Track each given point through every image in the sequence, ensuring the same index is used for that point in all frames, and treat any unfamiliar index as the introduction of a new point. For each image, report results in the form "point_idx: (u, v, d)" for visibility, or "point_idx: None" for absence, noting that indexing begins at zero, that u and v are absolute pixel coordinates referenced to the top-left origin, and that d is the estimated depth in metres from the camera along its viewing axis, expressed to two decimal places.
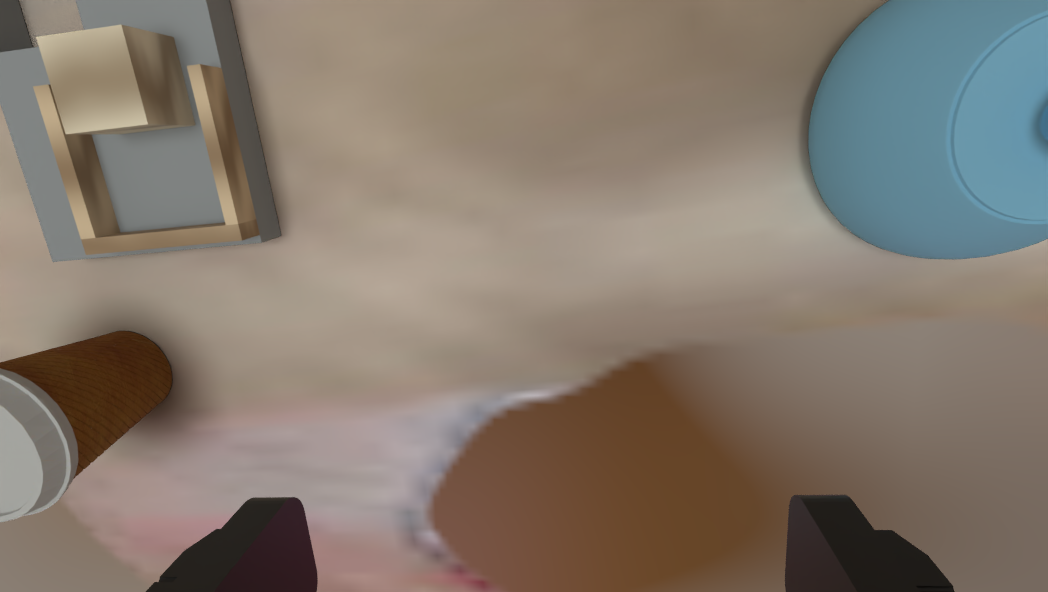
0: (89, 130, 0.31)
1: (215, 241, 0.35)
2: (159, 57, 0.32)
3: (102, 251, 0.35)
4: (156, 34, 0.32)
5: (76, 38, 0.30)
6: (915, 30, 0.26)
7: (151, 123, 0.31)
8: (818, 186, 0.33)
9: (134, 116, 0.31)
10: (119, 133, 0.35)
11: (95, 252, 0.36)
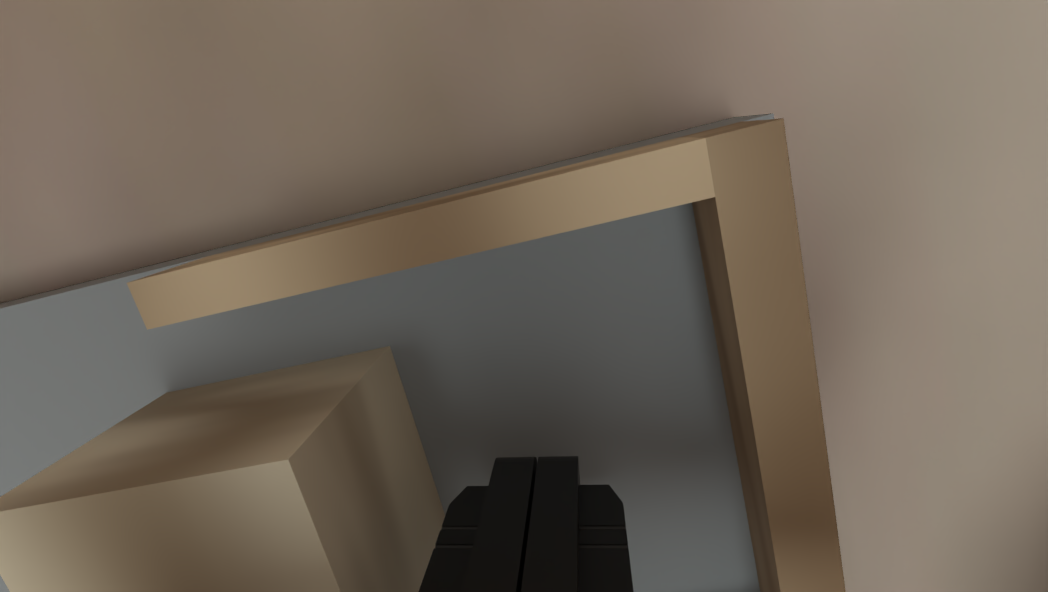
0: None
1: (793, 246, 0.08)
2: (164, 421, 0.10)
3: None
4: (115, 427, 0.10)
5: None
6: None
7: (296, 448, 0.08)
8: None
9: (271, 506, 0.07)
10: None
11: None
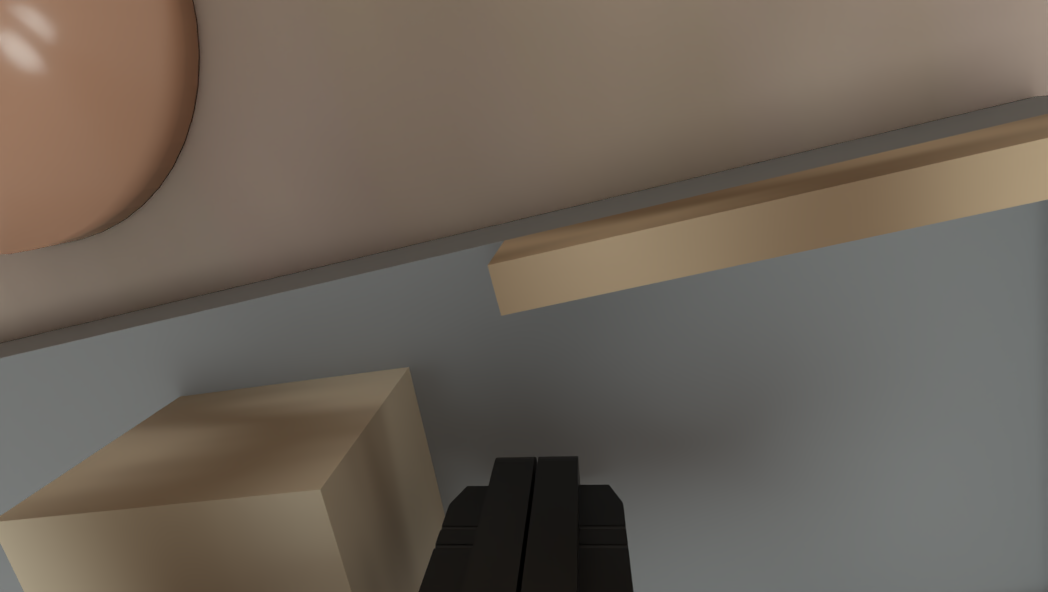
0: None
1: None
2: (184, 430, 0.10)
3: None
4: (132, 431, 0.10)
5: None
6: None
7: (326, 477, 0.08)
8: None
9: (298, 533, 0.08)
10: None
11: None
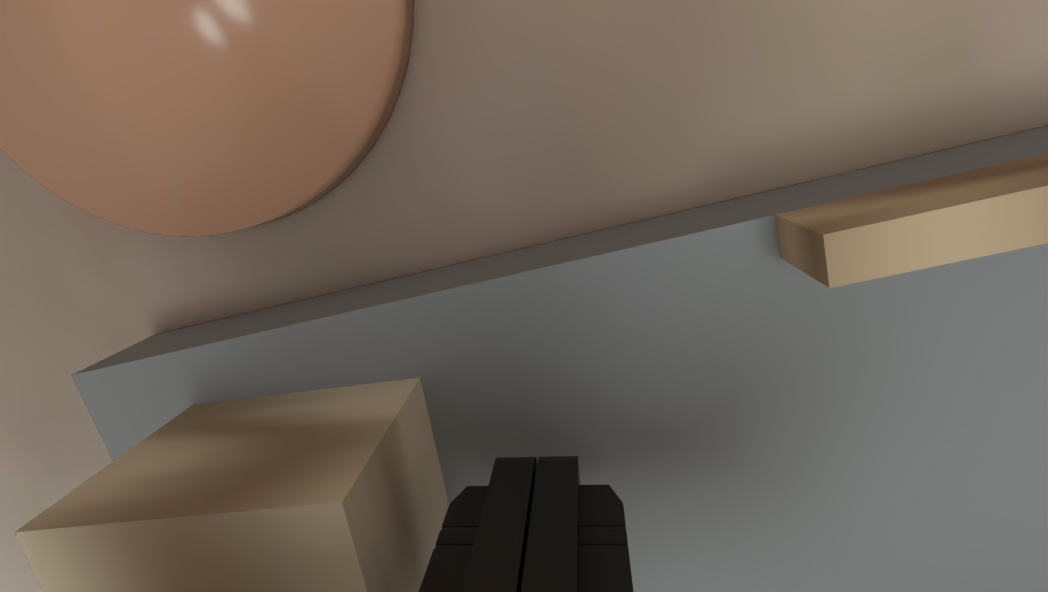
0: None
1: None
2: (199, 440, 0.10)
3: None
4: (147, 440, 0.11)
5: None
6: None
7: (346, 490, 0.08)
8: None
9: (318, 544, 0.08)
10: None
11: None
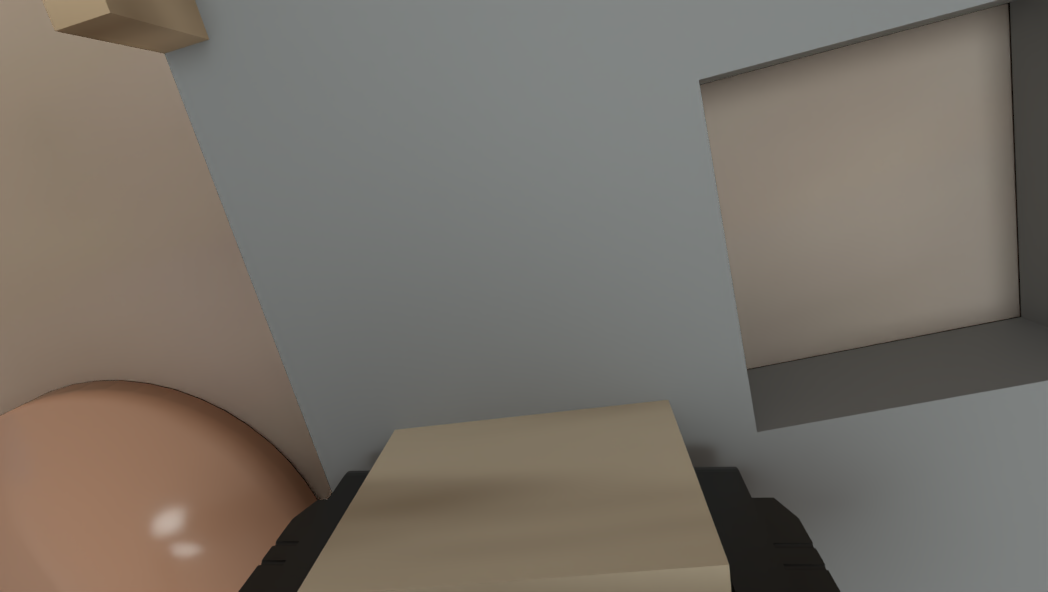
0: (592, 578, 0.06)
1: None
2: None
3: None
4: None
5: None
6: None
7: (307, 581, 0.07)
8: None
9: None
10: (649, 419, 0.09)
11: None
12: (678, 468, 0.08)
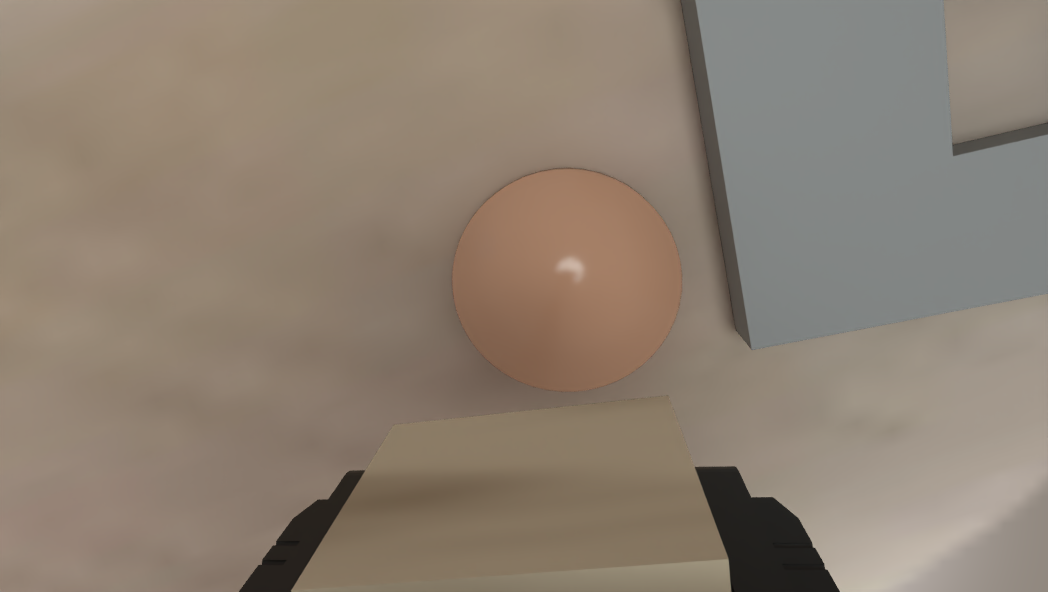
0: (590, 572, 0.06)
1: None
2: None
3: None
4: None
5: None
6: None
7: (305, 574, 0.07)
8: None
9: None
10: (649, 415, 0.09)
11: None
12: (678, 463, 0.08)
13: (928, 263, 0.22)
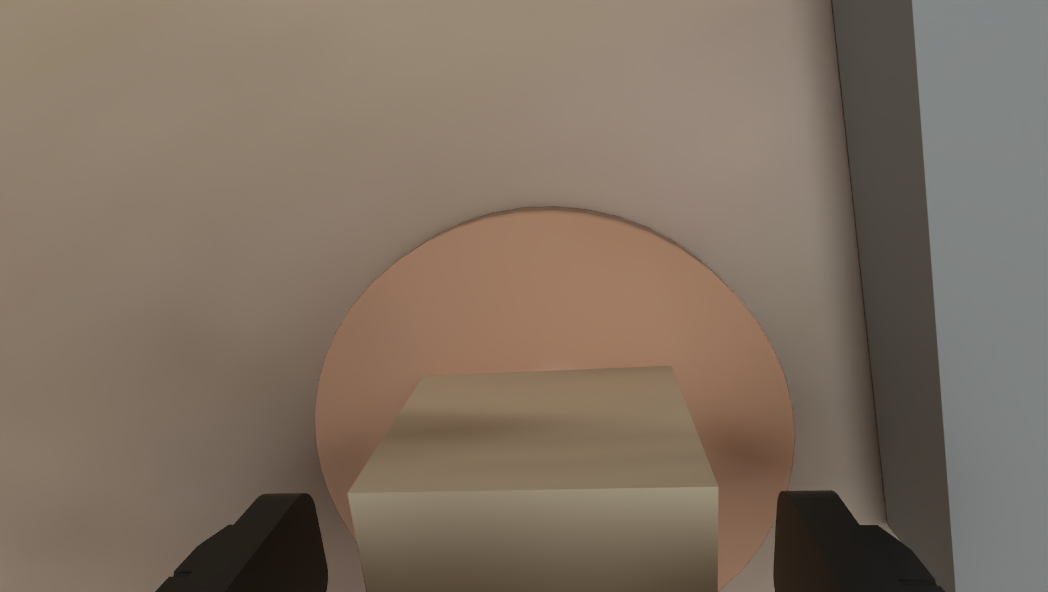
0: (602, 492, 0.08)
1: None
2: None
3: None
4: None
5: None
6: None
7: (357, 483, 0.08)
8: None
9: (396, 522, 0.08)
10: (653, 379, 0.11)
11: None
12: (678, 417, 0.09)
13: None
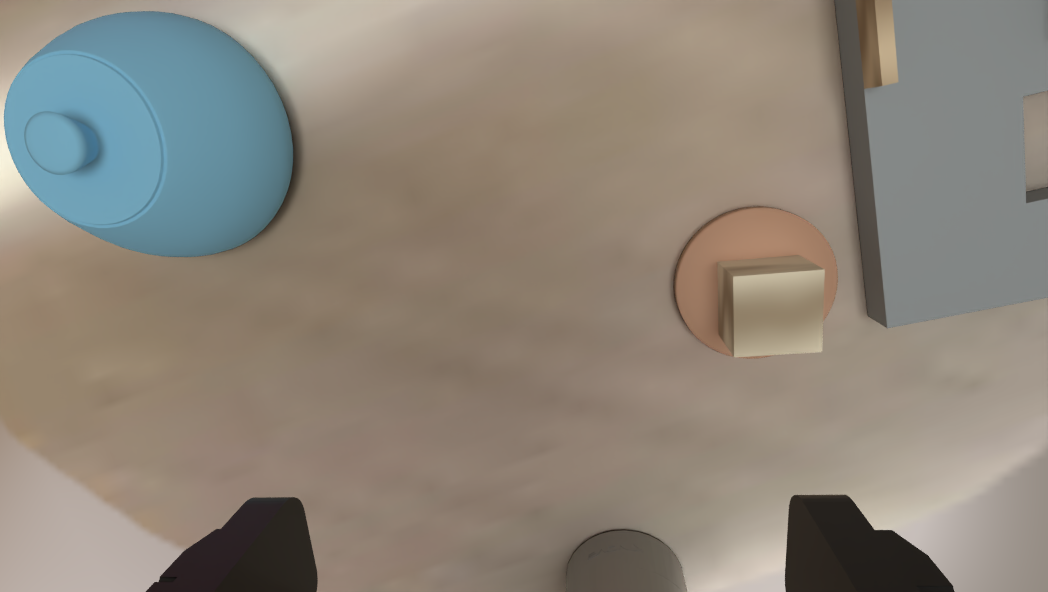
0: (797, 272, 0.32)
1: None
2: (724, 324, 0.36)
3: None
4: (723, 341, 0.36)
5: (781, 349, 0.34)
6: (226, 199, 0.33)
7: (732, 276, 0.33)
8: (258, 66, 0.35)
9: (744, 284, 0.33)
10: (795, 257, 0.35)
11: None
12: (808, 262, 0.34)
13: (1007, 271, 0.34)
